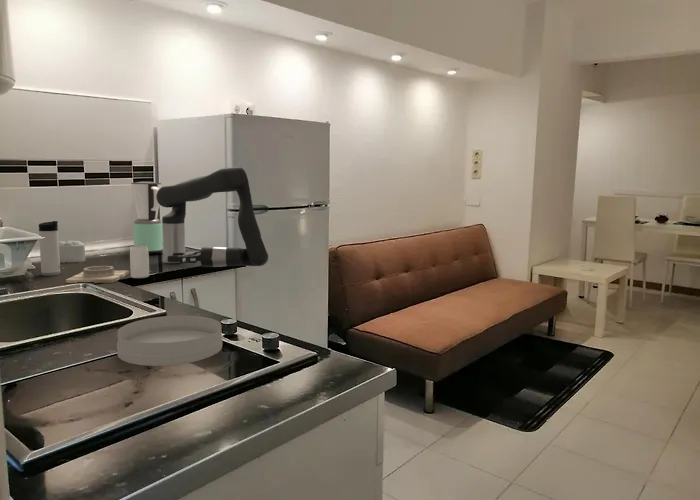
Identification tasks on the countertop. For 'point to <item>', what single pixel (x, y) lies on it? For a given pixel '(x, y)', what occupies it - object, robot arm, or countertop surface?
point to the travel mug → (49, 248)
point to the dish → (169, 340)
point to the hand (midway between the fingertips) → (170, 257)
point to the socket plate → (97, 279)
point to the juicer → (147, 216)
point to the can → (139, 261)
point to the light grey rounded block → (71, 251)
